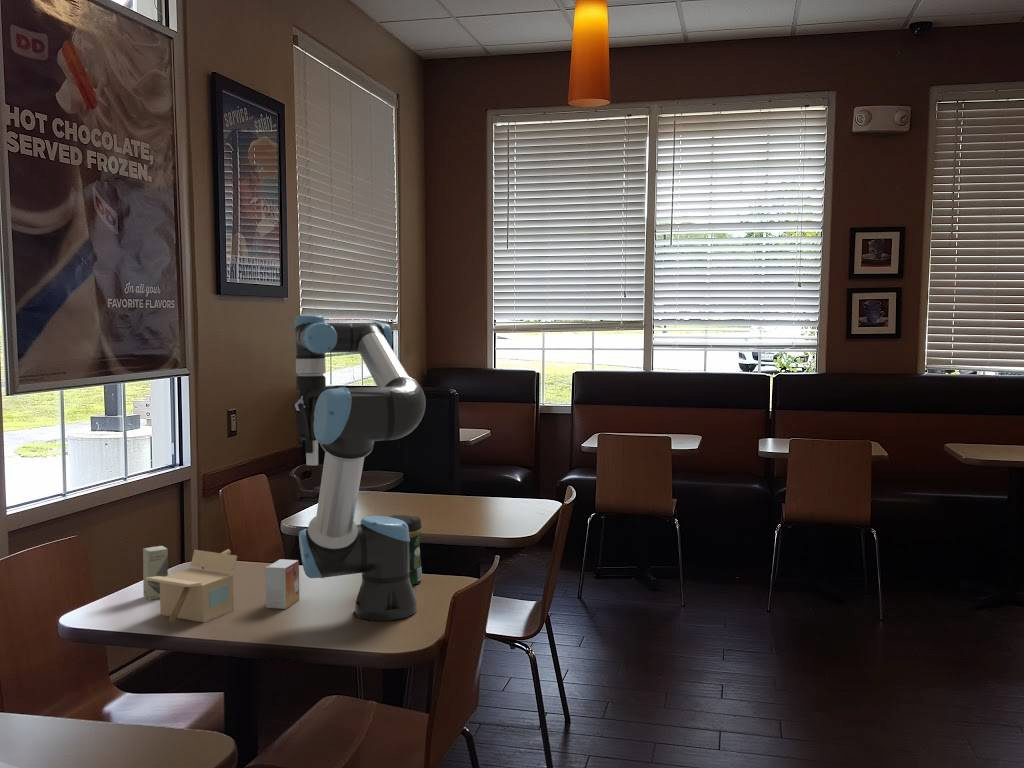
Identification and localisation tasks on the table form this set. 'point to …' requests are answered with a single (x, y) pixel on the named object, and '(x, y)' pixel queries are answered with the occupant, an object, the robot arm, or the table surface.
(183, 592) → the left flap
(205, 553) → the right flap
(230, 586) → the carton
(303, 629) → the table surface
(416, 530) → the coffee jar
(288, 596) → the small box
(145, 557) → the box
